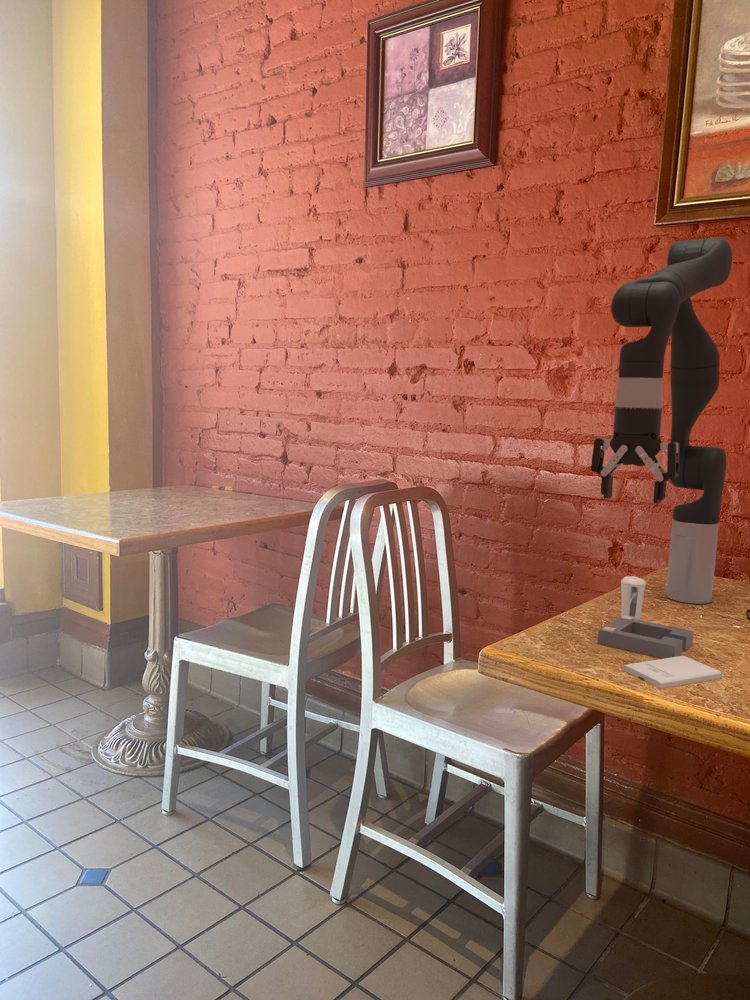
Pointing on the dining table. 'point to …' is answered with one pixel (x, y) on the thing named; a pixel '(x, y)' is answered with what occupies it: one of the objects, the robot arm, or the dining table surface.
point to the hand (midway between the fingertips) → (631, 500)
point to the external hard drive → (672, 672)
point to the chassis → (645, 637)
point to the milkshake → (632, 596)
